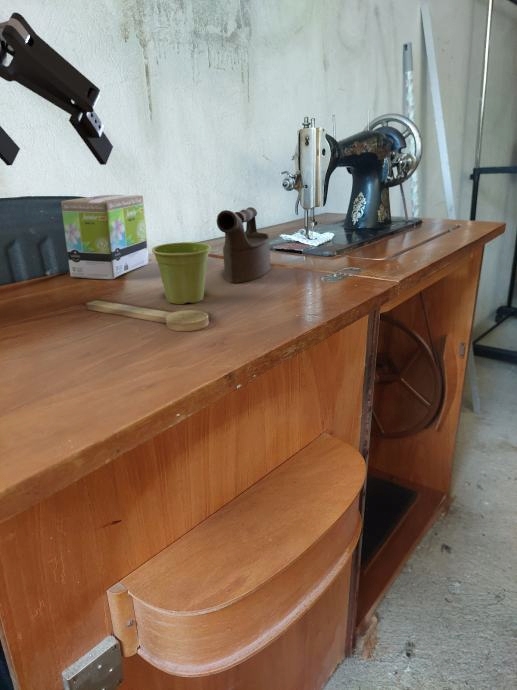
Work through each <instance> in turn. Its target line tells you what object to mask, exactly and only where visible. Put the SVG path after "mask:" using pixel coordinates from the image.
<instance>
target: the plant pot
mask: <svg viewBox="0 0 517 690" xmlns="http://www.w3.org/2000/svg"><path fill="white" fill-rule="evenodd" d="M211 250H212V247H211V245H210V244H207V243H203V242H194V241H193V242H192V241H182V242H170V243H163V244H158V245H156V246H153V247H152V248H151V252H152V254H154V257H155V260H156V262H157V264H158V268H159V273H160V277H161V281H162V287H163V291H164V297H165V299H166V301H167V302H168V303H170V304H174V305H185V304H187V303H191V304H196V303H198V302H202V300H203V299H204V296H205V281H206V269H207V261H208V259H209V252H210V251H211Z"/></svg>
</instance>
